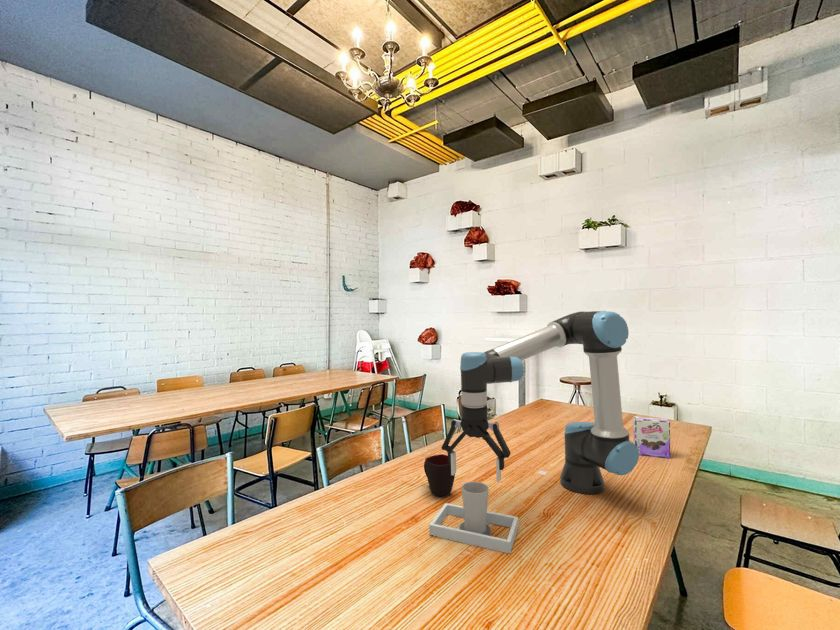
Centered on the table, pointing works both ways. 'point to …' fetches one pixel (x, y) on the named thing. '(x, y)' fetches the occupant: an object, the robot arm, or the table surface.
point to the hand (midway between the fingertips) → (475, 477)
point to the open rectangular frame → (473, 537)
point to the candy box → (652, 436)
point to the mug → (439, 475)
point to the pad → (487, 532)
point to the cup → (475, 506)
